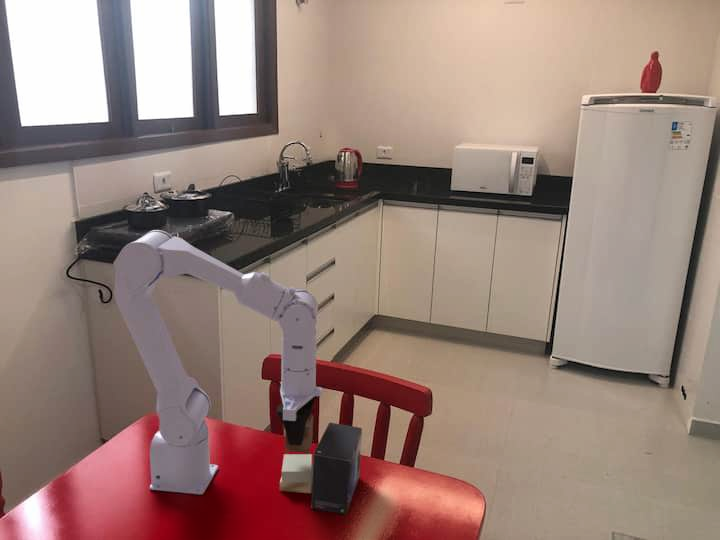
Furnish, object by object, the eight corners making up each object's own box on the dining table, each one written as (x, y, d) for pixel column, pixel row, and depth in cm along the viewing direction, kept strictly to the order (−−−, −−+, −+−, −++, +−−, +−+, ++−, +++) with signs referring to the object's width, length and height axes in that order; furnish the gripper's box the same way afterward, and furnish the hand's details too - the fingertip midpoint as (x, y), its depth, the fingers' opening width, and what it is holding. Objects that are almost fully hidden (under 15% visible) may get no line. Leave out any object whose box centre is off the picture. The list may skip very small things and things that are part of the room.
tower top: (281, 482, 98) (281, 471, 98) (283, 465, 103) (283, 454, 102) (310, 482, 99) (311, 471, 98) (311, 465, 103) (311, 454, 103)
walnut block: (285, 451, 97) (285, 425, 96) (290, 438, 101) (290, 413, 100) (308, 453, 97) (308, 427, 96) (312, 440, 101) (313, 415, 100)
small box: (348, 516, 93) (350, 460, 90) (310, 510, 94) (311, 454, 92) (361, 477, 103) (363, 426, 100) (326, 472, 105) (327, 421, 102)
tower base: (279, 492, 99) (279, 481, 98) (286, 473, 104) (286, 462, 104) (311, 495, 99) (311, 484, 98) (315, 475, 104) (316, 465, 103)
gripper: (314, 386, 88) (313, 463, 91) (329, 348, 102) (327, 417, 105) (269, 382, 88) (270, 459, 92) (290, 345, 102) (289, 413, 106)
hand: (297, 436), depth 99 cm, fingers closed on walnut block, 4 cm apart
